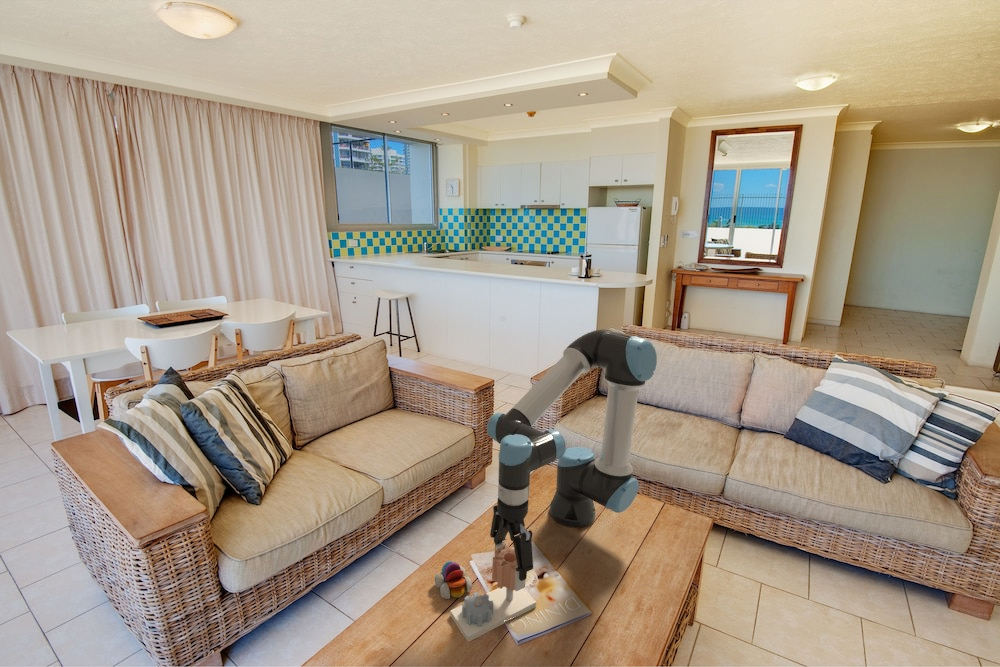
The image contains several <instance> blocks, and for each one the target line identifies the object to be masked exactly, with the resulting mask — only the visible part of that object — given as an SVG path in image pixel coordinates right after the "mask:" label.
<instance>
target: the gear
mask: <svg viewBox="0 0 1000 667" xmlns="http://www.w3.org/2000/svg"><path fill="white" fill-rule="evenodd" d="M517 566H518V565H517V560H516V555H515V550H514V548H512V547H511V548H510V545H506V546H505V548H504V549H503V550H498V549H497V550H496V551H495V550H494V557H492V570H491V580H492V582H496V583H497V584H496V585H497V588H501V589H502V588H503V587H507V588H509V589H510V591H512V590H514V588H515V567H517Z"/></svg>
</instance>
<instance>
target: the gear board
mask: <svg viewBox="0 0 1000 667" xmlns="http://www.w3.org/2000/svg"><path fill="white" fill-rule="evenodd" d="M536 607H537V601H536V599H534V598H533V596H532V595H531V594H530V593H529V592H528V591H527V590H526V588H523V589H520V590H518V591H515V590H512V591H510V589H509V588H507V587H503V588H502V589H501V588H499V587H497V588H495V589H493V590H492V591H489V592H487V593H484V594H479V592H478V591H476V592H473V595H471V596H469V595H466V596H465V597H464V602H463V604H461V605H459V606H456V607H455V608H453V609H451V610H450V613H449V614H450V617H451V619H452V621H454V623H455V625H456V626H457V628H458V629H459V631H460V633H461V634H462V635H463V637H464V639H465V641H466V642H467V643H470V642H472V641H473V640H475V639H477V638H479V637H482V636H483V635H485V634H486V633H488V632H490V631H493V630H494V629H496V628H498V627H500V626H501V625H504V624H505V623H504V620H508V619H510V618H513V617H515V618H517V617H519V616H521V615H523V614H525V613H527V612H529V611H531V610H533V609H535V608H536ZM516 616H517V617H516Z"/></svg>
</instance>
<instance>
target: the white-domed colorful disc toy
mask: <svg viewBox="0 0 1000 667" xmlns="http://www.w3.org/2000/svg"><path fill="white" fill-rule="evenodd" d="M466 574H467V573H466V569H465V568H464V566H461V565H460V564H459V563H457V562H455V561H452V560H451V561H450V560H448V561H445V563H444V564H443V565H442V568H441V571H439V572H437V573H436V574H435V576H434V585H435V586H436V587H437V588H438V589H439V593H440V596H441V598H443V599H444V600H449V599H450V598H451V597H454V598H461V597H462V596H464V594H465V593H469V592H470V591H471V590H472V587H473V582H472V579H471V578H470V577H469V576H467V575H466Z"/></svg>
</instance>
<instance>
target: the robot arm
mask: <svg viewBox="0 0 1000 667" xmlns="http://www.w3.org/2000/svg"><path fill="white" fill-rule="evenodd" d="M657 359H658V356H657V352H656V347H655V346H654V344H653V343H652V342H651V341H650V340H649V339H646V338H642V337H640V336H637V335H632V334H628V333H622V332H617V331H613V330H610V329H596V330H593V331H590V332H587V333H585V334H584V335H582V336H580V337H578V338H577V339H575V340H573V341H572V342H571V343H570V344H569V345H568V346H567V347H566V348H565V349H564V350H563V354H562V356H561V358H560V359H559V360H558V361H557V362H556V363H554V365H553V366H552V367H551V368H550V369H549V370H548V371H547V372H546V373H544V375H543V376H542V377H541V378H540V379H539V380H537V382H536V383H535V384H534V385H533V386H532V387H531V388H530V389H529V390H528V391H527V392H526V393H525V394H524V395H523V397H522V398H520V400H518V401H517V403H515V404H514V406H513V407H511V408H510V410H509V411H508V412H507V413H504V412H497V413H494V414H493V415H492V416H490V418H489V420H488V422H487V424H486V432H487V435H488V436H489V438H491V439H492V440H494V441H495V442H497V443H498V444H499V452H498V486H497V487H498V488H497V490H498V491H497V496H498V497H497V504H496V505H493V507H492V508H493V509H492V510H493V514H492V515H493V516H492V520H491V521H492V522H491V527H490V534H489V535H490V537H491V538H492V539H493V543H494V552H495V551H496V550H497V549H498V550H503V549H504V548H505V546H507V543H506V542H505V541H506V540H507V539H506V537H507V535H508V534H509V539H510V541H511V542H512V545H513V549H514V550H515V555H516V560H517V565H518V566H517V567H515V588H514V590H515V591H518V590H520V589H523V588H524V589H526V580H527V574H528V573H527V572H529V571H532V570H534V556H533V546H532V545H533V544H532V540H533V539H532V538H533V531H532V530H531V529H530V530H528V529H526V527H525V526H526V525H525V518H526V516H527V515H528V513H529V498H530V478H531V473H532V472H533V471H535V470H536V471H537V470H538V469H540V468H541V467H544V466H546V465H548V464H550V463H554V462H555V461H557V463H556V464H557V470H556V488H555V489H556V490H555V493H554V495H553V498H552V500H551V501H550V506H549V514H550V517H551V518H552V519H553V521H555V522H557V524H560V525H561V526H564V527H568V528H575V529H576V528H577V529H579V528H584V527H588V526H590V525H591V524H592V523H593V522H594V521H595V519H596V507H595V504H594V502H595V503H597V504H599V505H601V506H602V507H604V508H605V509H606V510H610V511H612V512H614V513H617V514H621V513H623V512H625V511H626V510H627V509H629V507H630V506H631V505H632V504H633V502H634V500H635V499H636V498H637V495H638V492H639V488H640V483H639V481H638V479H637V478H635V477H633V472H634V467H633V466H632V465H631V463H630V457H631V450H632V449H631V448H632V441H633V436H634V435H633V434H634V428H635V422H636V421H635V418H636V412H637V405H638V398H639V391H640V388H642V387H643V386H645V384H646V382H647V381H648V380H650V379H651V378H653V375H654V372H655V371H656V368H657V362H658V360H657ZM594 368H600V369H602V370H604V371H605V372H604V380H605V381H606V382H607V384H608V389H607V390H608V391H607V398H606V407H605V416H604V423H603V429H602V430H603V432H602V437H601V438H602V440H601V445H600V446H601V448H600V456H599V457H597V458H596V455H595V452H594V451H593V449H591V448H587V447H584V446H572V447H567V444H566V440H565V438H564V436H563V435H562V433H561V432H560V431H558V430H556V429H548V430H547V429H546V430H544V431H540V430H538V429H537V428H535V427H533V426H534V425H535V424H536V423H537V422H538V421H539V419H541V418H542V417H543V416H544V414H546V412H547V411H548V410H549V409H550V408H551V407H552V406H553V405H554V404H555V403H556V402H557V401H558V399H559V398H560V397H561V396H562V395H563V394H564V393H565V392H566V391H567V390H568V389H569V388H570V386H572V385H573V384H574V383H575V382H576V380H578V379H579V377H580V376H581V375H582V374H587V373H589V371H590V370H592V369H594ZM595 458H596V459H595Z"/></svg>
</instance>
